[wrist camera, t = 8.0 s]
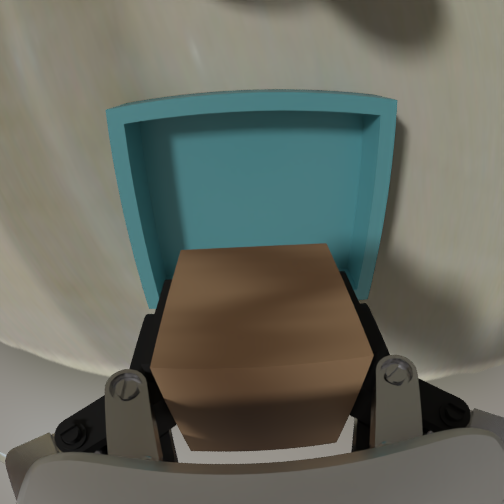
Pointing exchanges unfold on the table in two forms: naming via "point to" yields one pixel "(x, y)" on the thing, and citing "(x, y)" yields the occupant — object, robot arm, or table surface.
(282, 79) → the table surface
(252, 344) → the block
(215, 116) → the tray
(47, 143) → the table surface
